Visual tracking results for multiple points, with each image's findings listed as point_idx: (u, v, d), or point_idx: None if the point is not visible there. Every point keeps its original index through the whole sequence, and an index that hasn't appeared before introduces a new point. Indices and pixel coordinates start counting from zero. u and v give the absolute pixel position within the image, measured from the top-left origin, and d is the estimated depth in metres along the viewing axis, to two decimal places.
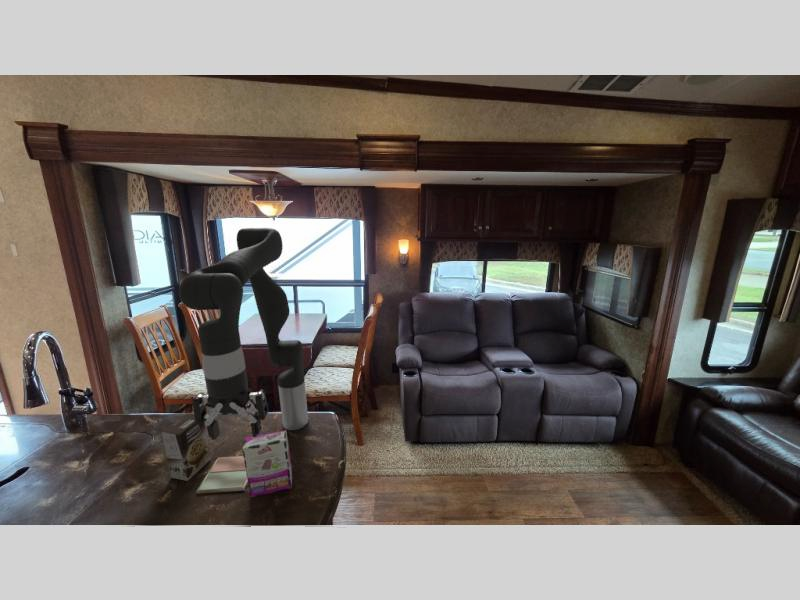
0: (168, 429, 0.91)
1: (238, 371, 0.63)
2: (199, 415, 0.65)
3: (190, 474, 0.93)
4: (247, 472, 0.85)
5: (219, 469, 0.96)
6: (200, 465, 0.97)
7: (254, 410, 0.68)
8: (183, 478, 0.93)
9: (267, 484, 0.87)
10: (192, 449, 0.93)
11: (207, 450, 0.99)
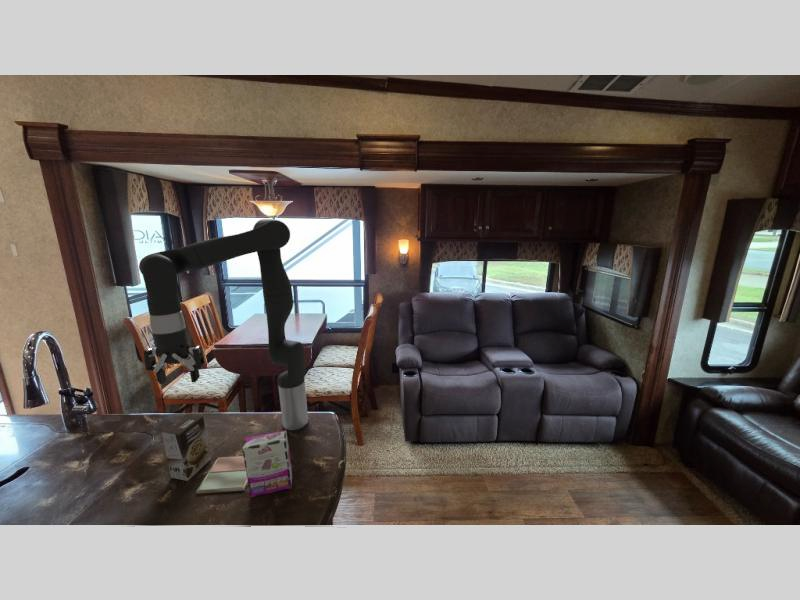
0: (168, 429, 0.91)
1: (178, 329, 0.84)
2: (149, 364, 0.86)
3: (190, 474, 0.93)
4: (247, 472, 0.85)
5: (219, 469, 0.96)
6: (200, 465, 0.97)
7: (193, 362, 0.89)
8: (183, 478, 0.93)
9: (267, 484, 0.87)
10: (192, 449, 0.93)
11: (207, 450, 0.99)
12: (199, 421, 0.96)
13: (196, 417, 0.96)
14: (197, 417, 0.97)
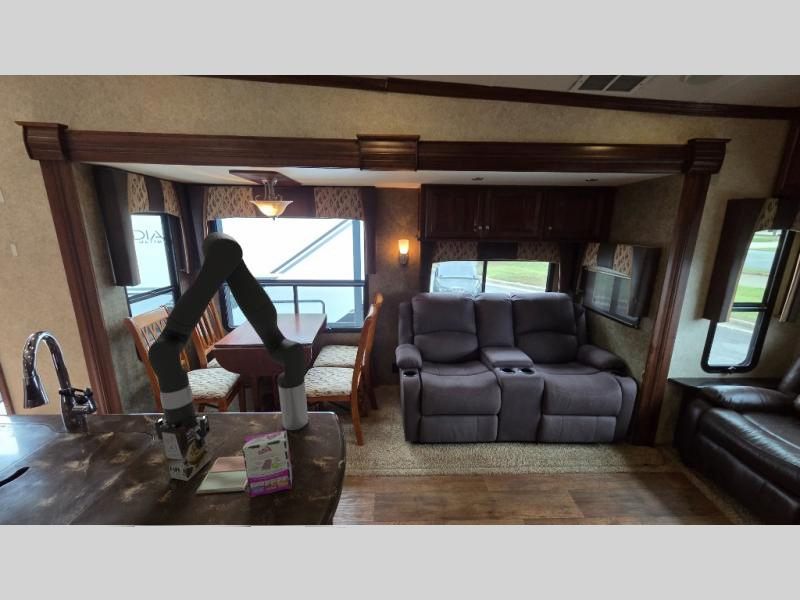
0: (168, 429, 0.91)
1: (186, 402, 0.90)
2: (160, 433, 0.92)
3: (190, 474, 0.93)
4: (247, 472, 0.85)
5: (219, 469, 0.96)
6: (200, 465, 0.97)
7: (199, 429, 0.95)
8: (183, 478, 0.93)
9: (267, 484, 0.87)
10: (192, 449, 0.93)
11: (207, 450, 0.99)
12: None
13: None
14: None
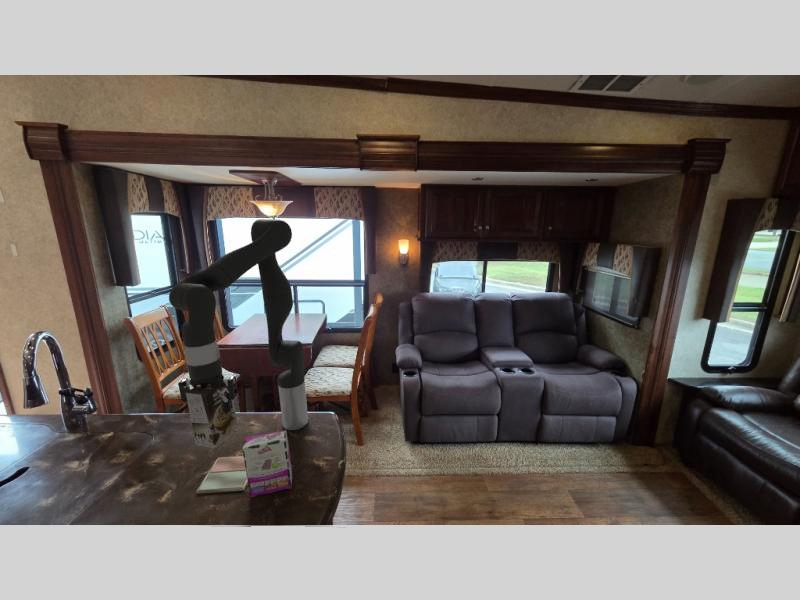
0: (193, 390, 0.82)
1: (213, 359, 0.81)
2: (184, 395, 0.83)
3: (217, 441, 0.84)
4: (247, 472, 0.85)
5: (219, 469, 0.96)
6: (226, 432, 0.87)
7: (226, 392, 0.86)
8: (209, 445, 0.83)
9: (267, 484, 0.87)
10: (218, 413, 0.84)
11: (234, 416, 0.90)
12: None
13: None
14: None
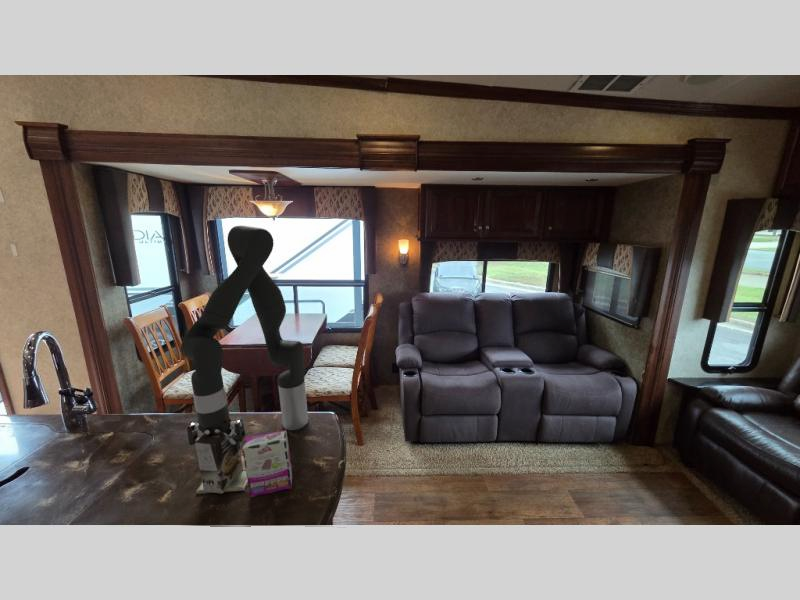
0: (201, 439, 0.85)
1: (221, 406, 0.84)
2: (192, 439, 0.86)
3: (224, 486, 0.88)
4: (247, 472, 0.85)
5: None
6: (233, 476, 0.91)
7: (234, 434, 0.89)
8: (217, 491, 0.87)
9: (267, 484, 0.87)
10: (226, 459, 0.88)
11: (239, 460, 0.94)
12: None
13: None
14: None
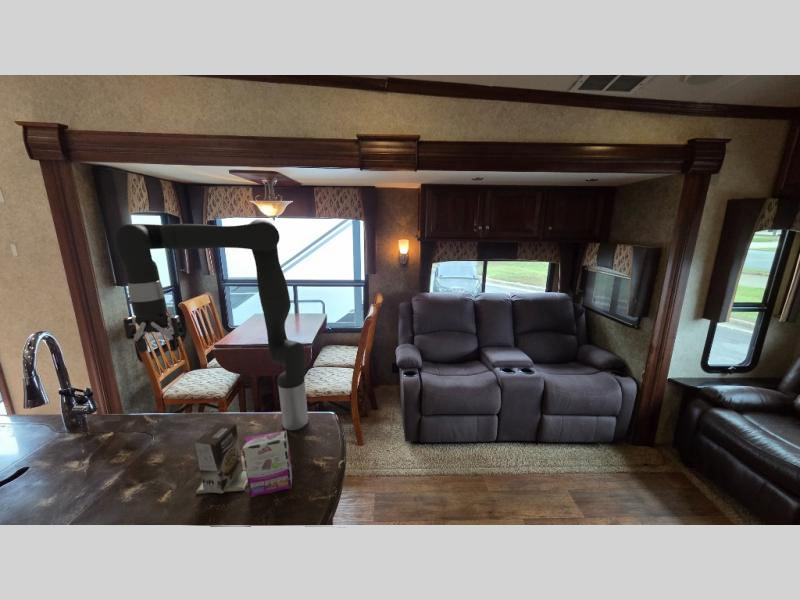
0: (201, 439, 0.85)
1: (156, 298, 0.86)
2: (129, 332, 0.88)
3: (224, 486, 0.88)
4: (247, 472, 0.85)
5: None
6: (233, 476, 0.91)
7: (172, 331, 0.91)
8: (217, 491, 0.87)
9: (267, 484, 0.87)
10: (226, 459, 0.88)
11: (239, 460, 0.94)
12: (232, 429, 0.90)
13: (228, 425, 0.91)
14: (230, 425, 0.91)
